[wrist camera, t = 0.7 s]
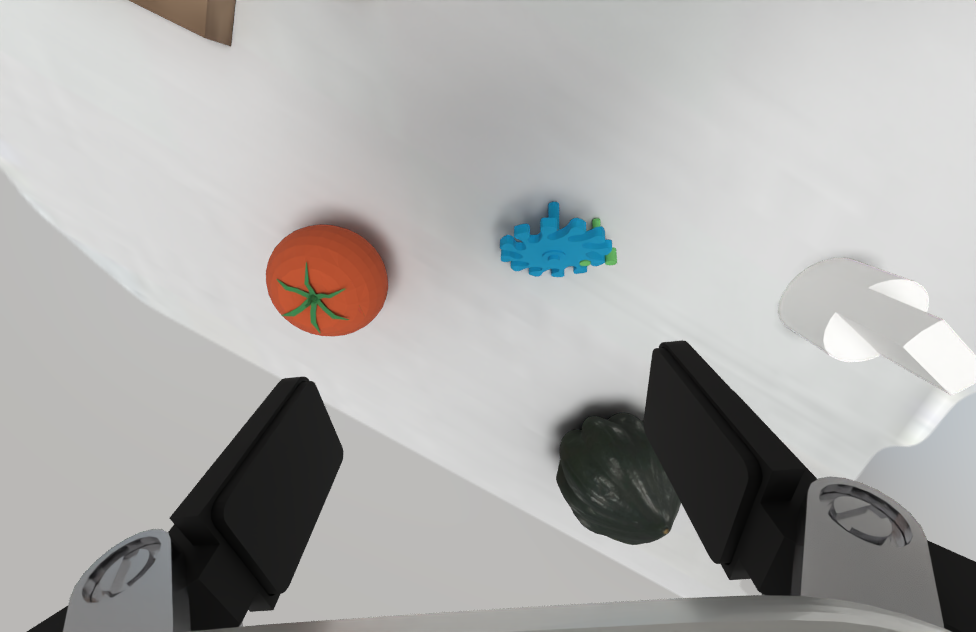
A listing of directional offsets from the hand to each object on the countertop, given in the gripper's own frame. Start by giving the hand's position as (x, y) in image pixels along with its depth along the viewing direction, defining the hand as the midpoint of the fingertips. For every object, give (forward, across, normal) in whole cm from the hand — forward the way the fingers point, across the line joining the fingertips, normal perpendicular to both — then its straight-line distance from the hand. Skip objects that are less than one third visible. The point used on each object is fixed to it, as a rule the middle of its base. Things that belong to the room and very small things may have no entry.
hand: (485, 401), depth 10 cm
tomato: (+28, +15, +4) cm, 32 cm away
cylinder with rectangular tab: (+28, -36, +14) cm, 47 cm away
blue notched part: (+28, -6, +4) cm, 29 cm away
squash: (+28, -13, +32) cm, 44 cm away
